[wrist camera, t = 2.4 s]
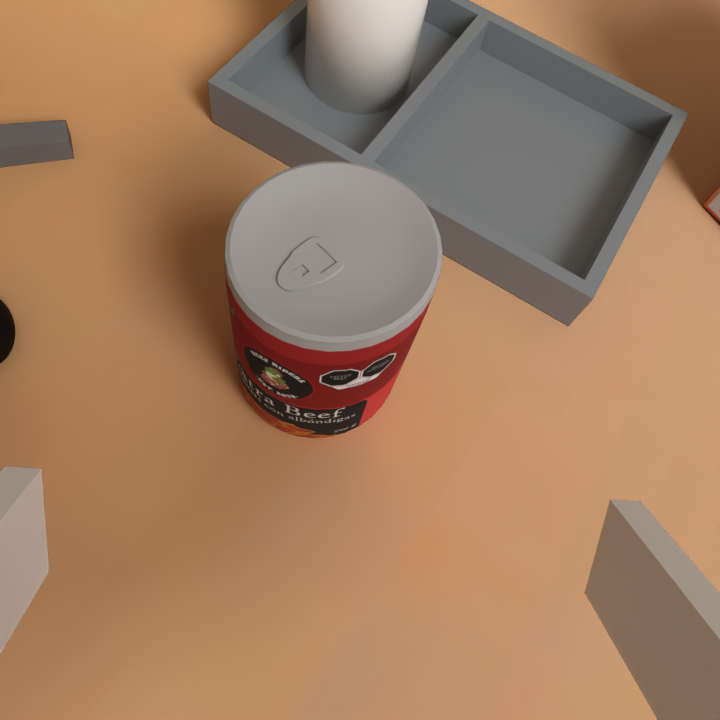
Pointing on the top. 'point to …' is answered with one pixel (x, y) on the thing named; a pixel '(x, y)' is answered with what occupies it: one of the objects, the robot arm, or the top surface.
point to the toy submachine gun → (28, 147)
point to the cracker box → (714, 204)
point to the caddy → (477, 144)
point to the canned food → (327, 292)
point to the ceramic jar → (361, 52)
